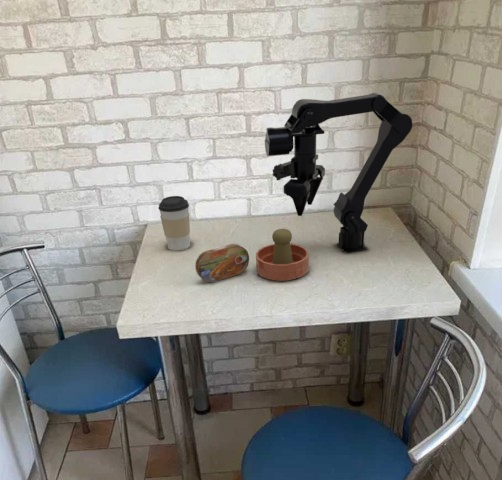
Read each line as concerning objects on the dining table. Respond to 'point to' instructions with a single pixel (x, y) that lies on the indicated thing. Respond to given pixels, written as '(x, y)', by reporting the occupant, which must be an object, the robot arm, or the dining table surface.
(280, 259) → the cork
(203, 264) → the tin
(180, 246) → the coffee cup
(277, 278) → the bowl
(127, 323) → the dining table surface
